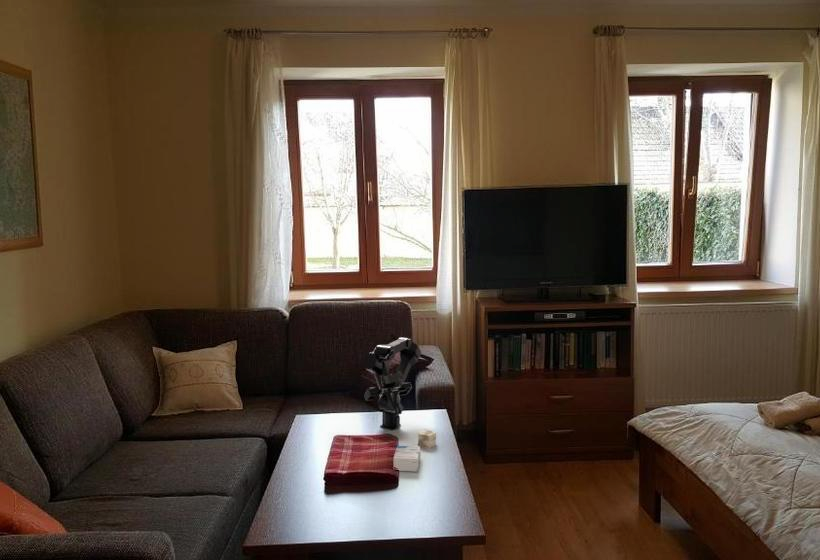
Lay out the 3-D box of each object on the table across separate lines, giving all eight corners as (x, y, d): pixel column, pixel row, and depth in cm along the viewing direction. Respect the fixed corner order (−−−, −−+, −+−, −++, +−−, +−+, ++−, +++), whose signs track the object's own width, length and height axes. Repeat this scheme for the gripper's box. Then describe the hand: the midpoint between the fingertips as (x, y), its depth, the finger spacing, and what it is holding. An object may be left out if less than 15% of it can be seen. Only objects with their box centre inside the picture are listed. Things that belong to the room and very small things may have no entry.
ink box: (397, 457, 229) (392, 471, 217) (397, 444, 228) (393, 457, 217) (420, 458, 228) (417, 472, 216) (420, 445, 227) (417, 459, 216)
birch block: (418, 446, 241) (418, 433, 240) (424, 441, 245) (424, 429, 244) (429, 448, 238) (429, 436, 238) (435, 444, 242) (436, 432, 242)
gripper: (368, 367, 237) (381, 404, 229) (410, 362, 247) (424, 397, 239) (358, 382, 245) (371, 418, 237) (400, 376, 254) (413, 411, 246)
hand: (395, 410), depth 239 cm, fingers closed
